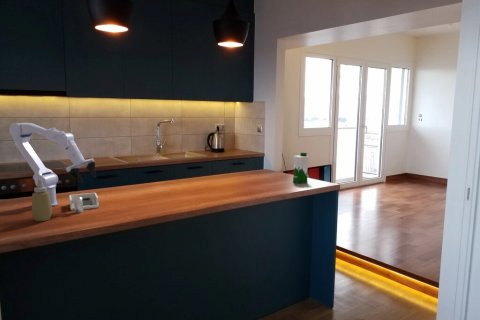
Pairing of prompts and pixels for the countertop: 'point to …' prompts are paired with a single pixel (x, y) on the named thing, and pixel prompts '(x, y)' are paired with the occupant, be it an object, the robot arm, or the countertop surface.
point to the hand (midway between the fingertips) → (88, 179)
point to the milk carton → (300, 168)
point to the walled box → (88, 195)
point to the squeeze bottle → (41, 203)
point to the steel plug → (78, 204)
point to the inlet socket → (87, 201)
